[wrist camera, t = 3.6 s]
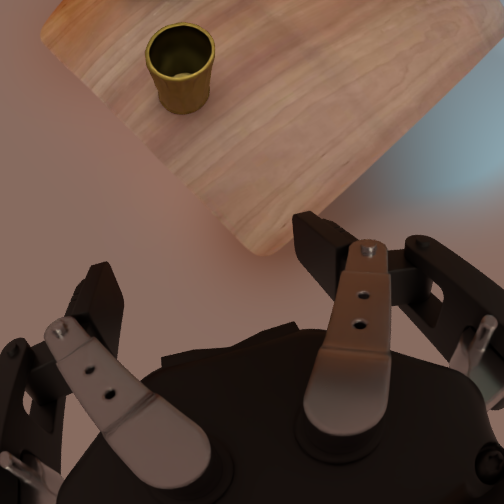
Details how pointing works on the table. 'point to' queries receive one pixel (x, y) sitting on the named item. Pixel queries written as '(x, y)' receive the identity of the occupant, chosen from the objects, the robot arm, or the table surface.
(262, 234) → the table surface
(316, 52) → the table surface
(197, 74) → the vase
